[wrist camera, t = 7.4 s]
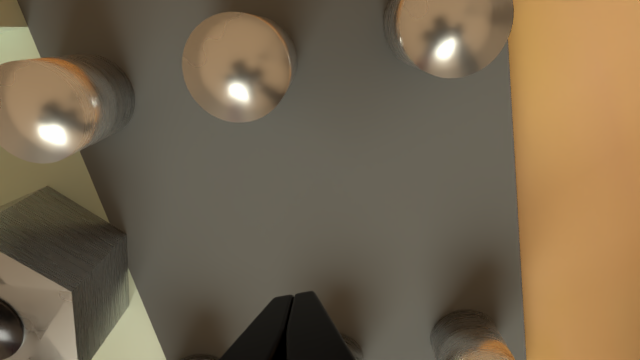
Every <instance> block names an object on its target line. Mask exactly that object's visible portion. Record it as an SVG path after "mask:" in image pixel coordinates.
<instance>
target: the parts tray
mask: <svg viewBox="0 0 640 360" xmlns="http://www.w3.org/2000/svg"><path fill="white" fill-rule="evenodd" d="M36 58H41V57H40V55H39V52H38V50H37V47H36V45H35V43H34V40H33V38H32V35H31V33H30V30H29V28H28V26H27V23H26V21H25V18H24V16H23V14H22V11H21V9H20V6H19V4H18V2H17V0H0V65H1V64H3V63H6V62H10V61H17V60H26V59H36ZM45 186H49V187H51V188H53V189H54V190H56V191H58V192H59V193H61V194H63V195H64V196H66V197H67V198H69V199H71V200H72V201H74V202H76V203H77V204H79V205H80V206H82V207H84V208H85V209H87V210H89V211H90V212H92V213H94V214H95V215H97V216H98V217H100V218H102V219H103V220H105V221H107V222H108V223H109V221H108V218H107V216H106V213H105V211H104V208H103V206H102V204H101V201H100V199H99V196H98V194H97V192H96V189H95V187H94V184H93V182H92V180H91V177H90V175H89V172H88V170H87V168H86V165H85V163H84V160H83V158H82V156H81V153H80V151H78V152H76V153H74V154H73V155H71V156H69V157H67V158H65V159H62V160H60V161H57V162H54V163H33V162H29V161H25V160H23V159H20V158H18V157H16V156H14V155H12V154H11V153H9V152H7V151H6V150H5V149H4V148H2V147H1V146H0V206H2V205H4V204H6V203H9V202H11V201H13V200H16V199H18V198H20V197H22V196H25V195H27V194H29V193H32V192H34V191H36V190H38V189H41V188H43V187H45ZM128 280H129V307H128V308H127V309H126V311H125V312H124V314H123V315H122V317H121V318H120V319H119V321H118V322H117V324H116V325H115V327H114V328H113V329H112V331H111V332H110V334H109V335H108V337H107V338H106V339H105V341H104V342H103V344H102V345H101V347H100V348H99V349H98V351H97V352H96V354H95V355H94V357H93V358H92V359H91V360H166V358H165V355H164V353H163V350H162V348H161V346H160V343H159V341H158V338H157V336H156V334H155V331H154V329H153V326H152V324H151V322H150V319H149V317H148V314H147V312H146V310H145V307H144V305H143V302H142V300H141V297H140V295H139V293H138V290H137V288H136V285H135V283H134V281H133V278H132V276H131V273H130V271H129V269H128Z"/></svg>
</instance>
